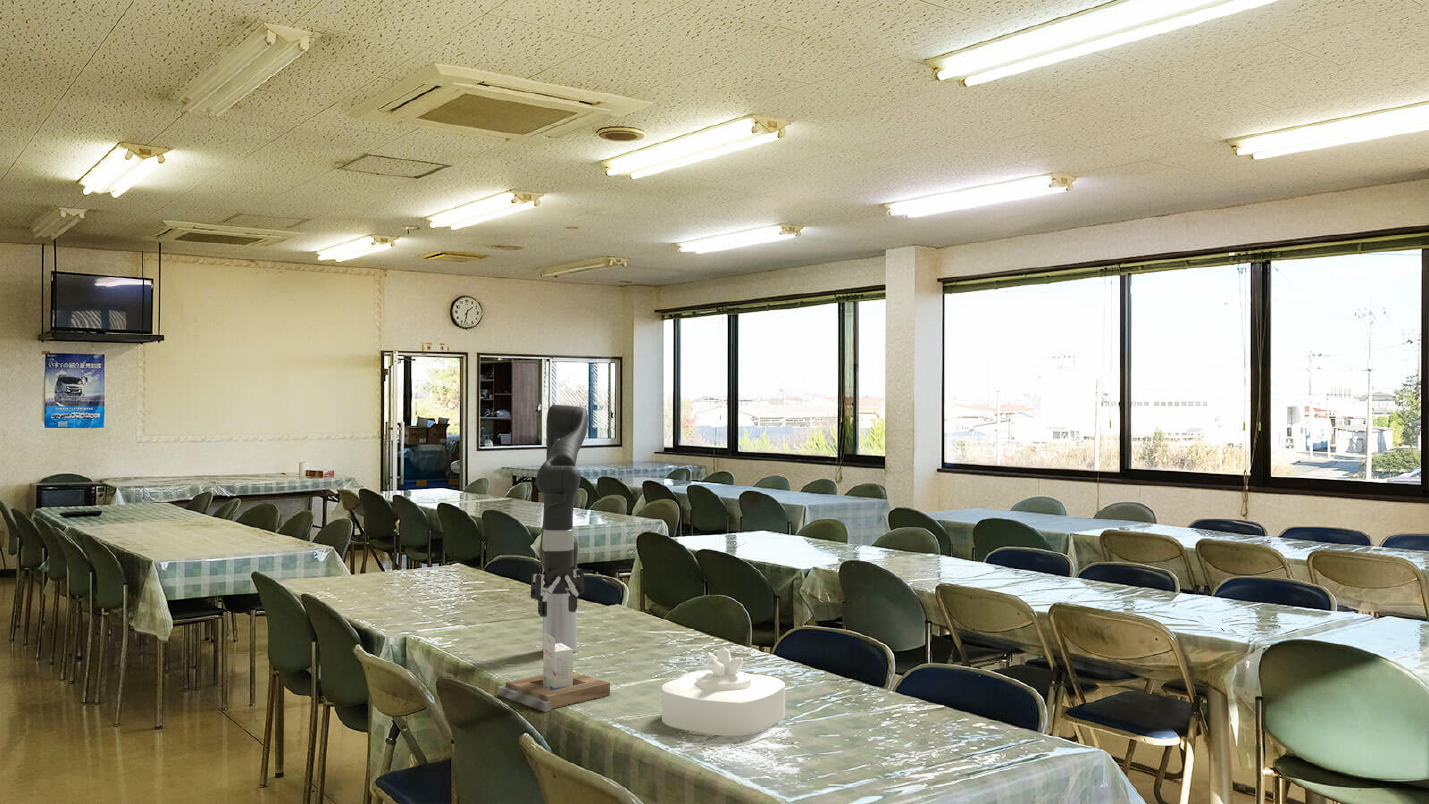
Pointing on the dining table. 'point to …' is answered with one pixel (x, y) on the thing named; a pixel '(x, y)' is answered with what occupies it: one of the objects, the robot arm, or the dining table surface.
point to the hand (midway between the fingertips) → (557, 614)
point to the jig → (553, 691)
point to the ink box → (557, 664)
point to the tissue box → (723, 699)
